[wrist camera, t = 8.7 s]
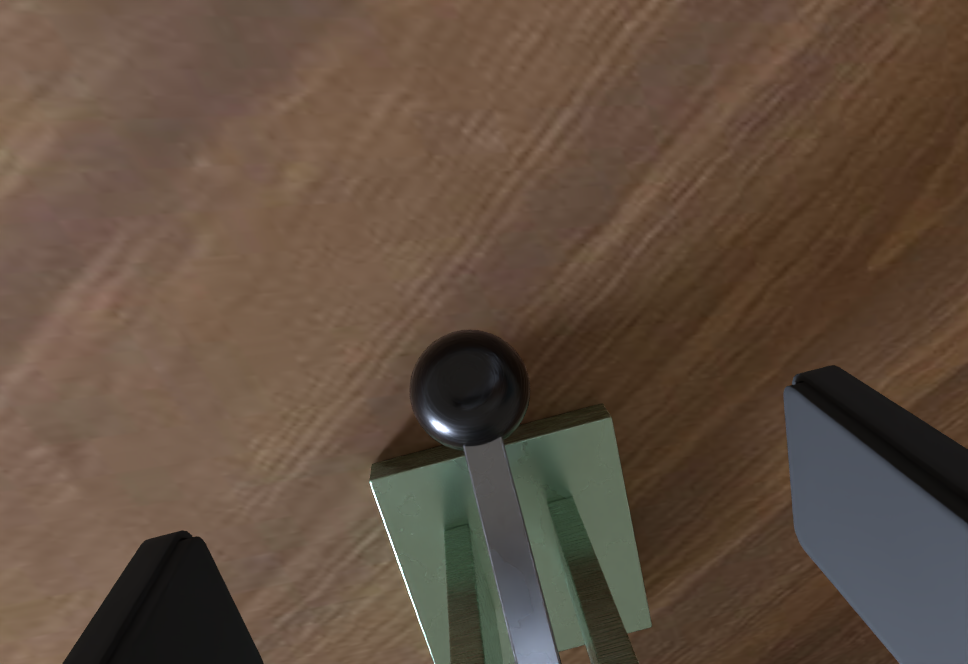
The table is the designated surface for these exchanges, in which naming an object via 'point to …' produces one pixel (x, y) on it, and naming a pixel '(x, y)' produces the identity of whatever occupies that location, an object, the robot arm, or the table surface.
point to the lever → (489, 466)
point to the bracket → (552, 534)
